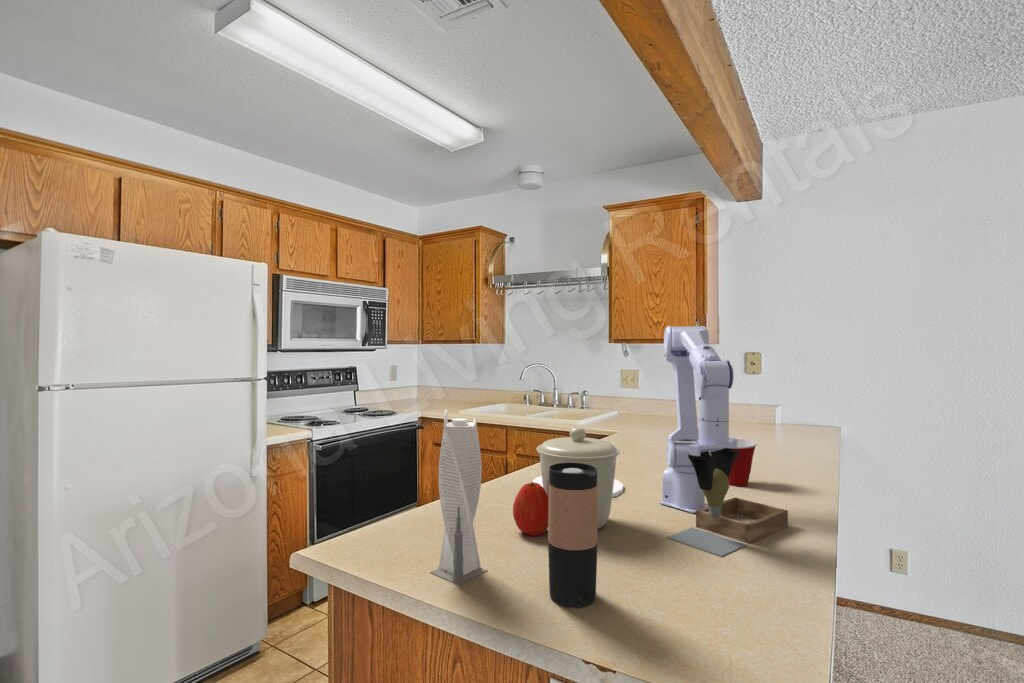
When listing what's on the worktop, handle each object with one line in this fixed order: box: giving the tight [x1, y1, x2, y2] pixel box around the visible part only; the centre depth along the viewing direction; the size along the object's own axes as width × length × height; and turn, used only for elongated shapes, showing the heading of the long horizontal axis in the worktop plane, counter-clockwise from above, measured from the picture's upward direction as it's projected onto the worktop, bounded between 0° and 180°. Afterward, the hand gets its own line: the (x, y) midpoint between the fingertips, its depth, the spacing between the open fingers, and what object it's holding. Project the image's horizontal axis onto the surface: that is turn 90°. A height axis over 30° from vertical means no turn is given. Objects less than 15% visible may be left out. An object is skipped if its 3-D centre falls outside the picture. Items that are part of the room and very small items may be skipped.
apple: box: [512, 481, 549, 537], centre depth 109 cm, size 8×8×11 cm
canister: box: [536, 426, 621, 530], centre depth 114 cm, size 18×18×21 cm
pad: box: [666, 527, 747, 558], centre depth 104 cm, size 12×9×1 cm
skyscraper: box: [429, 408, 489, 586], centre depth 90 cm, size 8×8×28 cm
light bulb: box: [702, 468, 730, 518], centre depth 105 cm, size 6×6×10 cm
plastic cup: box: [729, 438, 758, 487], centre depth 147 cm, size 11×11×12 cm
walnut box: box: [695, 497, 789, 545], centre depth 112 cm, size 12×16×4 cm
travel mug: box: [547, 463, 599, 609], centre depth 81 cm, size 8×8×20 cm
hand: (713, 487), depth 105 cm, fingers closed on light bulb, 5 cm apart
